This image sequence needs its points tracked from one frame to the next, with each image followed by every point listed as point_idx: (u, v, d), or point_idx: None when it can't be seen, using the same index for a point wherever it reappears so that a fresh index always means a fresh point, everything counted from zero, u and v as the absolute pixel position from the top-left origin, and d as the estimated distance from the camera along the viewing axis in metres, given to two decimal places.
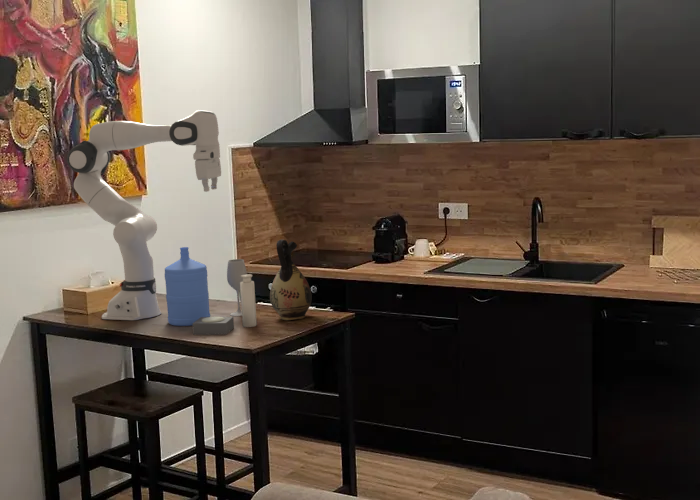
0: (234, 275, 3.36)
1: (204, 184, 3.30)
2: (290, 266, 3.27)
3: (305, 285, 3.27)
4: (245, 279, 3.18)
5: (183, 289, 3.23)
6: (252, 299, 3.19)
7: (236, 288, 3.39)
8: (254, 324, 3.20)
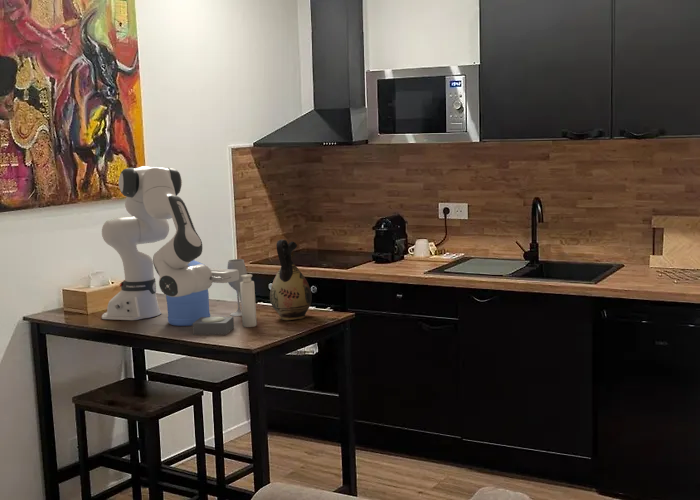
0: None
1: None
2: (290, 266, 3.27)
3: (305, 285, 3.27)
4: (245, 279, 3.18)
5: None
6: (252, 299, 3.19)
7: (236, 288, 3.39)
8: (254, 324, 3.20)
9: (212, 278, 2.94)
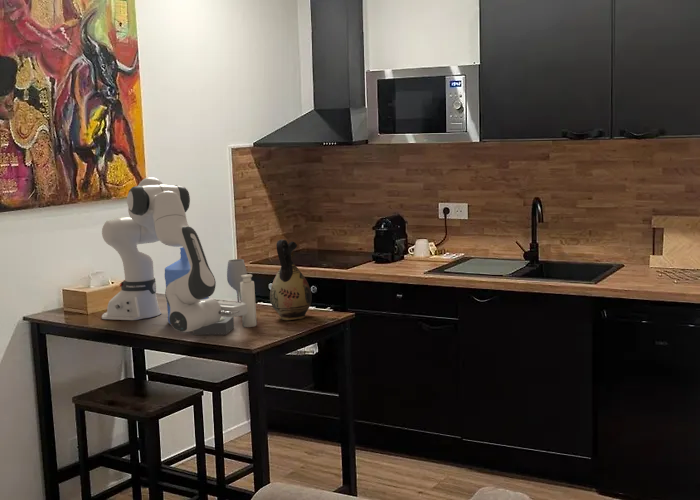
0: (234, 275, 3.36)
1: None
2: (290, 266, 3.27)
3: (305, 285, 3.27)
4: (245, 279, 3.18)
5: None
6: (252, 299, 3.19)
7: (236, 288, 3.39)
8: (254, 324, 3.20)
9: (221, 312, 2.99)
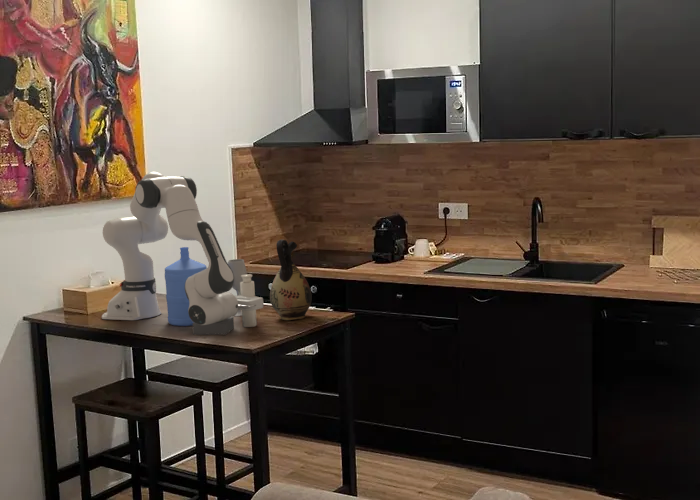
0: (234, 275, 3.36)
1: None
2: (290, 266, 3.27)
3: (305, 285, 3.27)
4: (245, 279, 3.18)
5: (183, 289, 3.23)
6: None
7: (236, 288, 3.39)
8: (254, 324, 3.20)
9: (238, 306, 3.07)
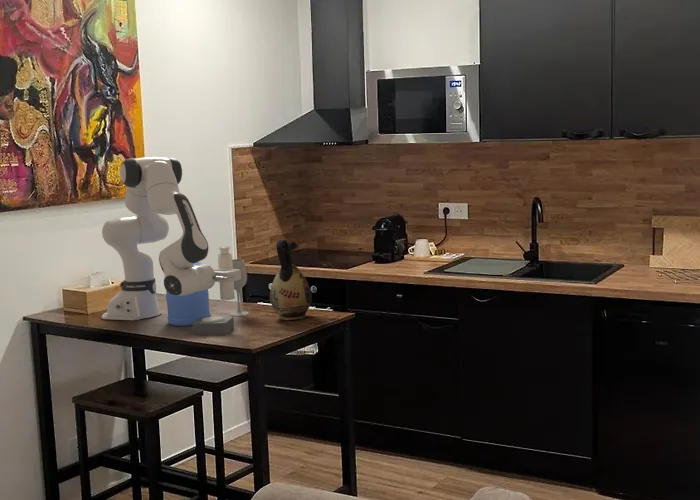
0: None
1: None
2: (290, 266, 3.27)
3: (305, 285, 3.27)
4: (223, 251, 3.13)
5: None
6: None
7: (236, 288, 3.39)
8: (232, 297, 3.16)
9: (215, 277, 3.02)
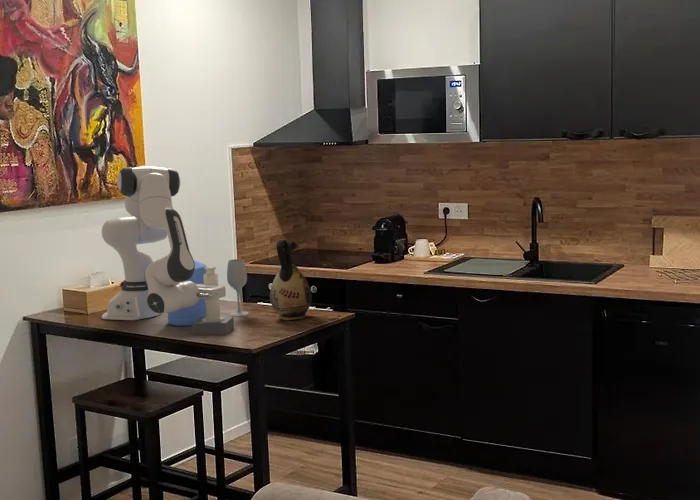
0: (234, 275, 3.36)
1: None
2: (290, 266, 3.27)
3: (305, 285, 3.27)
4: (208, 271, 3.12)
5: None
6: None
7: (236, 288, 3.39)
8: (217, 317, 3.14)
9: (199, 295, 3.00)
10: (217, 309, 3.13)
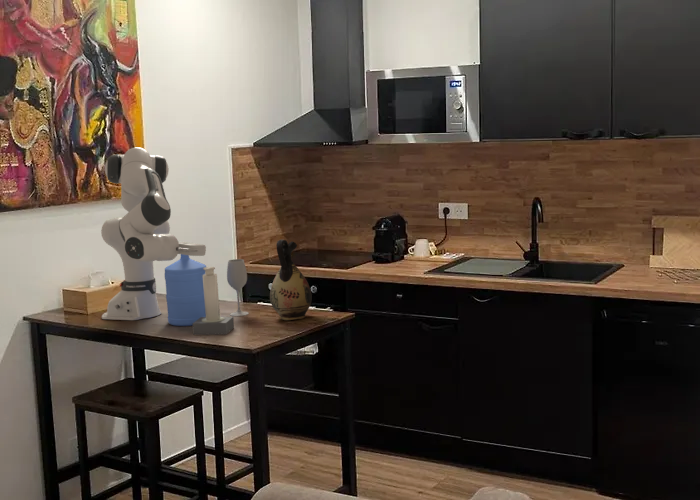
0: (234, 275, 3.36)
1: None
2: (290, 266, 3.27)
3: (305, 285, 3.27)
4: (207, 272, 3.11)
5: (183, 289, 3.23)
6: (215, 292, 3.12)
7: (236, 288, 3.39)
8: (217, 317, 3.14)
9: (178, 249, 2.89)
10: (217, 309, 3.13)
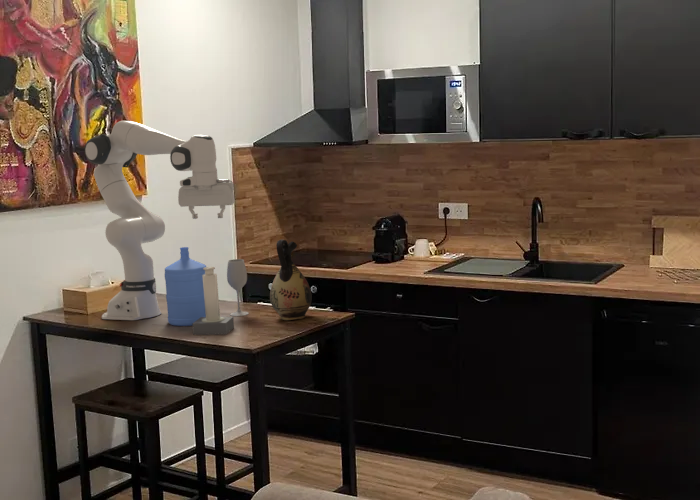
0: (234, 275, 3.36)
1: None
2: (290, 266, 3.27)
3: (305, 285, 3.27)
4: (207, 271, 3.11)
5: (183, 289, 3.23)
6: (215, 292, 3.12)
7: (236, 288, 3.39)
8: (217, 317, 3.14)
9: None
10: (217, 309, 3.13)
